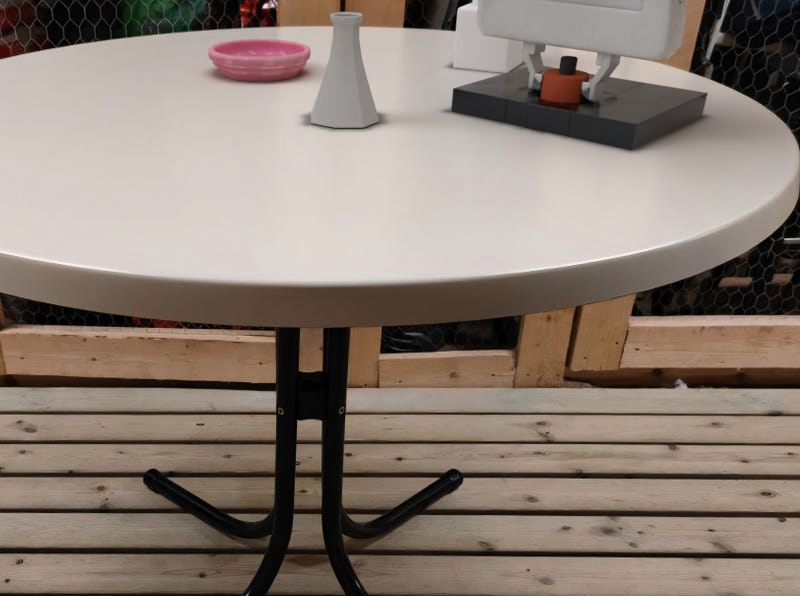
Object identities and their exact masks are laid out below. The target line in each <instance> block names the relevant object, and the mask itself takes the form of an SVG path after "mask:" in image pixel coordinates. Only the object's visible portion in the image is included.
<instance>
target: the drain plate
mask: <svg viewBox="0 0 800 596" xmlns="http://www.w3.org/2000/svg"><path fill="white" fill-rule="evenodd" d="M543 66H544V69H545V70H544V71H546V70H550V69H559V67H552V66H547V65H543ZM589 74H590V77H589V79H593V77H594V76H595V74H596V73H589ZM529 76H530V72H529V71H528V68H527V66H525V67H522V68H518V69H515V70H511V71H509V72H507V73H500V74H498V75H494V76H491V77H488V78H484V79H480V80H477V81H474V82H470V83H467V84H463V85H460V86H456V87H453V88H452V96H451V98H452V99H451V107H450V109H451V110H450V112H452V113H456V114H460V115H464V116H465V115H466V116H469V117H474V118H479V119H484V120H489V121H493V122H498V123H502V124H506V125H511V126H517V127H520V128H524V129H529V130H532V131H537V132H542V133H549V134H553V135H558V136H562V137H567V138H572V139H576V140H580V141H585V142H591V143H594V144H599V145H603V146H609V147H613V148H618V149H623V150H627V151H633V150H636V149H638V148H639V147H641V146H644V145H646V144H648V143H650V142H652V141H654V140H656V139H659V138H660V137H663V136H665V135H667V134H668V133H669V134H670V133H671V132H673V131H675V130H677V129H679V128H682V127H683V126H686V125H687V124H690V123H692V122H694V121H696V120H698V119H700V118H703V114H704V110H705V106H706V102H707V98H708V92H704V91H699V90H692V89H686V88H679V87H673V86H668V85H662V84H657V83H656V84H655V83H649V82H642V81H637V80H630V79H625V78H619V77H614V76H613V77H612V76H609V78H608V79H607V80H606V81H605V82H604V87H603V92H602V97H601V99H600V100H599V101H596V102H590V101H585V102H579V103H564V102H554V101H548V100H544V99H542V98H540V97H541V92H538V91H532V90H529V89H528V84H529Z"/></svg>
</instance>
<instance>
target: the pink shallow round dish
mask: <svg viewBox="0 0 800 596" xmlns="http://www.w3.org/2000/svg"><path fill="white" fill-rule="evenodd" d="M207 50H208V51H207V55H208V57H209V58H208V59H210V61H211V62H212V64H213V65H214V66H215V67H216V68H218V69H219V71H220V73H221V75H223V77H225V78H227V79H228V78H229V79H232V80H235V81H242V82H243V81H244V82H276V81H283V80H287V79H291V78H294V77H296V76H298V75H299V73H300V71H301V69H302V68H304V67H305V66H306V65H307V62H308V61H309V59H310V58H311V48H310V47H309V46H308V45H307V44H304V43H300V42H297V41H293V40H285V39H277V38H276V39H275V38H245V39H244V38H242V39H233V40H226V41H221V42H217V43H214V44H212V45H211V46H209V47H208V49H207Z"/></svg>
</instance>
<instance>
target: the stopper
mask: <svg viewBox="0 0 800 596" xmlns="http://www.w3.org/2000/svg"><path fill="white" fill-rule="evenodd" d="M578 59H579V58H578V57H577V56H574V55H562V56H561V57H560V59H559V60H560V61H559V67H558V68H559V69H550V70H546V71H545V72H544V76H543V83H542V90H541V97H540V98H542V99H544V100H548V101H554V102H564V103H579V102H585V100H581V99H580V93H581V92H582V90H581V86H582V82H583V81H586V80H589V77H590V74H591V73H589V72H587V71H584V70H580V69H577V66H578Z"/></svg>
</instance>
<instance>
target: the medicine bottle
mask: <svg viewBox="0 0 800 596" xmlns="http://www.w3.org/2000/svg"><path fill="white" fill-rule="evenodd" d="M478 1H479V0H472V1H471V2H470V3H467V4H464V5H463V6H460V7H458V8H457V10H456V11H457V12H456V23H455V36H454V48H453V60H452V61H453V62H452V67H453V69H462V70H470V71H471V70H472V71H480V72H491V73H500V74H504V73H507V72H511V71H513V69H516V68H517V67H518V66H520V65H521V64H523V62H524V57H523V55H522V49H523V41H517V40H510V39H504V38H497V37H490V36H484V35H482V33H481V32H480V29H479V27H478V25H477V9H478Z"/></svg>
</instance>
